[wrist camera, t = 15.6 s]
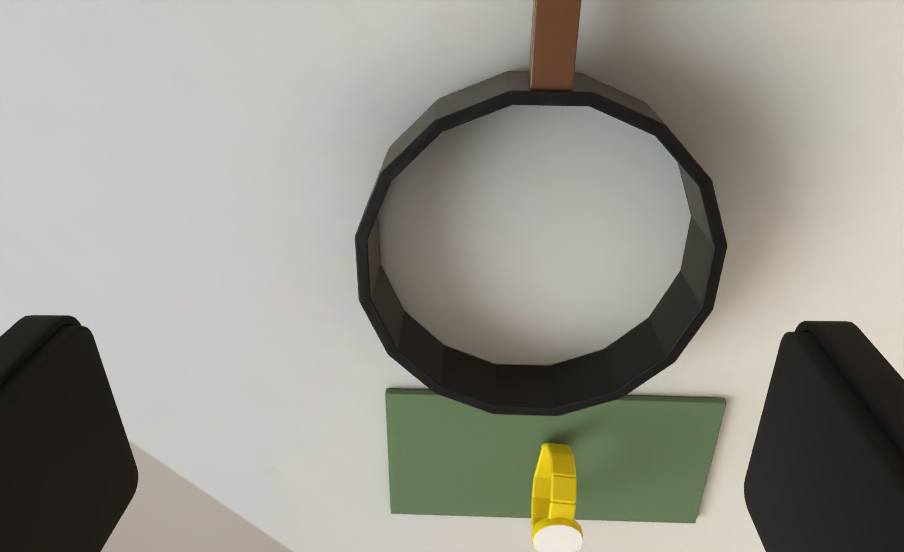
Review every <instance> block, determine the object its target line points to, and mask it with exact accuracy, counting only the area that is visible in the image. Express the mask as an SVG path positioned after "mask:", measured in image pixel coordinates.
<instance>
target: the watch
mask: <svg viewBox="0 0 904 552" xmlns="http://www.w3.org/2000/svg"><path fill="white" fill-rule="evenodd" d="M541 447H542V449H541V452H540V456H539V459H538V463H537V466H536V470H535V474H534V477H533V487H532V498H531V518H532V520H531V523H532V544H533V546H534V548H535V549H536V550H537V551H538V552H577V551H578V550H580V548H581V546H582V545H583V534H582V529H581V527H580V525H579V524H578V523H577V522H576V521H575V520H574V516H575V509H576V505H575V503H576V482H577V479H576V468H575V460H574V455H573V453H572V451H571V448H570V447H569V446H568V445H565V444H556V443H544V444H543V445H541Z"/></svg>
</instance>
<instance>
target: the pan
mask: <svg viewBox="0 0 904 552" xmlns="http://www.w3.org/2000/svg"><path fill="white" fill-rule="evenodd" d="M580 7H581V0H533V16H532V32H531V48H530V64H529V72H505V73H502V74H500V75H497V76H495V77H492V78H490V79H487V80H485V81H482V82H480V83H477V84H475V85H472V86H470V87H467V88H465V89H462V90H460V91H457V92H455V93H452V94H450V95H447V96H445V97H442V98H440V99H438V100H437V101H436V102H435V103H434V104H433V105H432V106H431V107H430V108H429V109H428V110H427V111H426V112H425V113H424V114H423V115H422V116H421V117H420V118H419V119H418V120H417V121H416V122H415V123H414V124H413V125H412V126H411V127H410V128H409V129H408V130H407V131H406V132H404V133H403V134H402V135H401V136H400V137H399V138H398V139H397V140H396V141H395V142H394V143H393V144H392V145H391V146H390V148H389V150H388V152H387V155H386V157H385V160H384V162H383V165H382V167H381V170H380V173H379V175H378V178H377V180H376V183H375V185H374V188H373V190H372V193H371V195H370V198H369V200H368V203H367V206H366V208H365V211H364V214H363V216H362V219H361V222H360V224H359V227H358V230H357V232H356V235H355V248H356V264H357V279H358V295H359V301H360V303H361V305H362V307H363V309H364V311H365V313H366V314H367V316H368V318H369V320H370V322H371V324H372V326H373V327H374V329H375V331H376V333H377V335H378V337H379V339H380V340H381V342H382V344H383V346H384V348H385V350H386V352H387V353H388V355H389V356H390V357H392V358H393V359H394V360H395V361H397V362H398V363H399V364H400V365H401V366H403V367H404V368H405V369H406V370H407V371H409V372H410V373H411V374H412V375H414V376H415V377H416V378H417V379H418V380H420V381H421V382H422V383H423V384H424V385H426V386H427V387H428V388H429V389H431V390H432V391H433V392H434V393H436V394H438V395H441V396H444V397H446V398H449V399H452V400H455V401H458V402H460V403H463V404H466V405H469V406H472V407H474V408H477V409H480V410H483V411H486V412H488V413H491V414H497V415H532V416H561V415H564V414H568V413H571V412H575V411H578V410H582V409H585V408H589V407H592V406H596V405H599V404H603V403H607V402H610V401H614V400H617V399H620V398H622V397H624V396H625V395H627V394H628V393H629V392H631V391H632V390H634V389H635V388H637V387H638V386H640V385H641V384H643V383H644V382H646V381H647V380H649V379H650V378H652V377H653V376H655V375H656V374H658V373H659V372H661V371H662V370H664V369H665V368H667V367H668V366H670V365H671V364H673V363H674V362H675V361H676V360H677V358H678V357H679V356H680V354H681V353H682V352H683V350H684V349H685V347H686V346H687V345H688V343H689V342H690V341H691V339H692V338H693V336H694V335H695V334H696V332H697V331H698V329H699V328H700V327H701V325H702V324H703V323H704V321H705V320H706V318H707V317H708V316H709V314H710V313H711V312H712V310H713V307H714V302H715V298H716V294H717V289H718V285H719V280H720V276H721V272H722V267H723V263H724V258H725V254H726V250H727V242H726V238H725V233H724V229H723V225H722V220H721V216H720V212H719V208H718V203H717V199H716V195H715V191H714V186H713V182H712V180H711V178H710V177H709V176H708V175H707V173H706V172H705V171H704V170H703V169H702V167H701V166H700V165H699V164H698V163H697V161H696V160H695V159H694V158H693V157H692V156H691V154H690V153H689V152H688V151H687V150H686V148H685V147H684V146H683V145H682V144H681V142H680V141H679V140H678V139H677V138H676V137H675V135H674V134H673V133H672V132H671V131H670V129H669V128H668V127H667V126H666V125H665V124H664V122H663V121H662V120H661V119H660V118H659V117H658V116H657V114H656V113H655V112H654V111H653V110H652V109H651V108H650V107H649V105H648V104H647V103H645V102H644V101H642V100H639V99H637V98H635V97H633V96H631V95H628V94H626V93H624V92H622V91H620V90H617V89H615V88H613V87H611V86H609V85H607V84H604V83H602V82H600V81H598V80H596V79H593V78H591V77H589V76H587V75H585V74H583V73H574V71H575V60H576V50H577V39H578V29H579V18H580ZM511 105H548V106H590V107H592V108H594V109H596V110H599V111H601V112H603V113H605V114H608V115H610V116H612V117H614V118H616V119H619V120H621V121H623V122H625V123H628V124H630V125H632V126H634V127H636V128H639V129H641V130H643V131H645V132H648V133H650V134H652V135H654V136H656V137H657V139H658V140H659V141H660V142H661V143H662V144H663V146H664V147H665V148H666V149H667V150H668V151H669V153H670V154H671V155H672V156H673V157H674V158H675V160H676V161H677V162H678V166H679V169H680V173H681V177H682V181H683V185H684V189H685V193H686V197H687V201H688V205H689V209H690V212H691V220H690V225H689V230H688V236H687V241H686V246H685V251H684V256H683V261H682V266H681V271H680V272H679V274H678V275H677V277H676V278H675V280H674V281H673V283H672V284H671V286H670V287H669V289H668V290H667V292H666V293H665V295H664V296H663V298H662V299H661V301H660V302H659V303H658V305H657V306H656V308H655V309H654V311H653V312H652V314H651V315H650V317H649V318H648V319H646V320H645V321H643V322H642V323H641V324H639V325H638V326H636V327H635V328H634V329H632V330H631V331H629V332H628V333H627V334H625V335H624V336H622V337H621V338H620V339H618V340H617V341H615V342H614V343H613V344H611V345H610V346H608V347H607V348H606V349H604V350H602V351H598V352H595V353H592V354H588V355H585V356H582V357H578V358H575V359H572V360H568V361H565V362H562V363H558V364H555V365H552V366H533V365H496V364H493V363H490V362H487V361H485V360H482V359H479V358H477V357H474V356H471V355H468V354H466V353H463V352H460V351H458V350H455V349H452V348H450V347H447V346H444V345H443V344H442V343H441V342H439V341H438V340H437V339H436V338H435V337H434V336H432V335H431V334H430V333H429V332H428V331H427V330H425V329H424V328H423V327H422V326H421V325H420V324H418V323H417V322H416V321H415V320H414V319H413V318H411V317H410V316H409V315H408V314H407V313H406V312H405V311H404V310H403V308H402V306H401V304H400V302H399V300H398V298H397V296H396V294H395V292H394V290H393V288H392V286H391V284H390V282H389V280H388V278H387V276H386V274H385V272H384V270H383V268H382V266H381V264H380V247H379V225H378V213H379V211H380V208H381V206H382V203H383V201H384V198H385V196H386V193H387V191H388V188H389V186H390V184H391V181H392V180H393V179H394V178H395V177H396V176H397V175H398V174H399V173H400V172H401V171H402V170H403V169H404V168H405V167H406V166H407V165H408V164H410V163H411V162H412V161H413V160H414V159H415V158H416V157H417V156H418V155H419V154H420V153H421V152H422V151H423V150H424V149H425V148H426V147H427V146H428V145H429V144H430V143H431V142H432V141H433V140H435V139H436V138H437V137H438V136H439V135H440V134H441V133H442V132H443V131H446V130H449V129H451V128H454V127H456V126H459V125H461V124H464V123H467V122H469V121H472V120H474V119H477V118H480V117H482V116H485V115H487V114H490V113H493V112H495V111H498V110H500V109H503V108H505V107H508V106H511Z"/></svg>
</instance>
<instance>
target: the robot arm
mask: <svg viewBox="0 0 904 552" xmlns="http://www.w3.org/2000/svg"><path fill="white" fill-rule="evenodd" d="M137 483H138V470H137V466H136V463H135V460H134V457H133V454H132V451H131V448H130V445H129V442H128V439H127V436H126V433H125V430H124V427H123V424H122V421H121V418H120V415H119V412H118V409H117V406H116V403H115V400H114V397H113V394H112V391H111V388H110V385H109V382H108V379H107V376H106V373H105V370H104V367H103V364H102V361H101V358H100V355H99V352H98V349H97V346H96V343H95V340H94V337H93V335H92V333H91V331H90V330H89V329H88V328H87V327H84V326H81V324H80V322H79V321H78V320H77V319H76V318H74V317H72V316H57V315H31V316H25V317H23V318H22V319H20V320H19V321H17V322H16V323H15V324H14V325H13V326H12V327H11V328H10V329H8V330H7V331H6V332H5V333H4V334H3V335H2V336H1V337H0V552H100V551H101V550H102V548H103V546H104V545H105V543H106V541H107V540H108V538H109V536H110V535H111V533H112V531H113V530H114V528H115V526H116V524H117V523H118V521H119V520H120V518H121V516H122V514H123V513H124V511H125V510H126V508H127V506H128V504H129V503H130V501H131V499H132V498H133V496H134V493H135V491H136V488H137ZM744 495H745V501H746V505H747V508H748V511H749V513H750V516H751V518H752V520H753V523H754V525H755V527H756V530H757V532H758V534H759V537H760V539H761V541H762V544H763V546H764V548H765V551H766V552H904V379H903V378H902V377H901V376H900V375H899V374H898V373H897V371H896V370H895V369H894V368H893V367H892V366H891V365H890V363H889V362H888V361H887V360H886V359H885V358H884V357H883V355H882V354H881V353H880V352H879V351H878V350H877V349H876V347H875V346H874V345H873V344H872V343H871V342H870V341H869V339H868V338H867V337H866V336H865V335H864V334H863V333H862V331H861V330H860V329H859V328H858V327H857V326H856V325H855V324H853V323H852V322H847V321H804V322H801V323H800V324H799V325H798V326H797V328H796V330H795V332H787V333H785V335H784V336H783V337H782V340H781V343H780V347H779V350H778V354H777V358H776V362H775V366H774V370H773V373H772V377H771V381H770V385H769V389H768V393H767V396H766V400H765V404H764V408H763V412H762V416H761V420H760V423H759V427H758V431H757V435H756V439H755V443H754V446H753V450H752V454H751V458H750V462H749V466H748V469H747V473H746V477H745V482H744Z"/></svg>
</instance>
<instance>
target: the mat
mask: <svg viewBox="0 0 904 552" xmlns="http://www.w3.org/2000/svg"><path fill="white" fill-rule="evenodd" d="M385 397H386V419H387V440H388V461H389V483H390V504H391V514H420V515H451V516H482V517H513V518H531V498H532V487H533V477H534V474H535V470H536V466H537V463H538V459H539V456H540V452H541V449H542V447H541V445H543V444H544V443H556V444H565V445H568V446H569V447H570V448H571V451H572V453H573V455H574V460H575V468H576V479H577V482H576V503H575V505H576V509H575V516H574V519H575V520H606V521H637V522H668V523H696V519H697V515H698V511H699V507H700V503H701V500H702V496H703V492H704V488H705V484H706V480H707V476H708V473H709V469H710V465H711V461H712V457H713V453H714V449H715V446H716V442H717V438H718V434H719V430H720V426H721V422H722V419H723V415H724V411H725V407H726V401H725V399H724V398H699V397H664V396H628V395H625V396H624V397H622V398H620V399H617V400H614V401H610V402H607V403H603V404H599V405H596V406H592V407H589V408H585V409H582V410H578V411H575V412H571V413H568V414H564V415H561V416H532V415H497V414H491V413H488V412H486V411H483V410H480V409H477V408H474V407H472V406H469V405H466V404H463V403H460V402H458V401H455V400H452V399H449V398H446V397H444V396H441V395H438V394H436V393H434V392H433V391H432V390H413V389H386V393H385Z"/></svg>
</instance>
